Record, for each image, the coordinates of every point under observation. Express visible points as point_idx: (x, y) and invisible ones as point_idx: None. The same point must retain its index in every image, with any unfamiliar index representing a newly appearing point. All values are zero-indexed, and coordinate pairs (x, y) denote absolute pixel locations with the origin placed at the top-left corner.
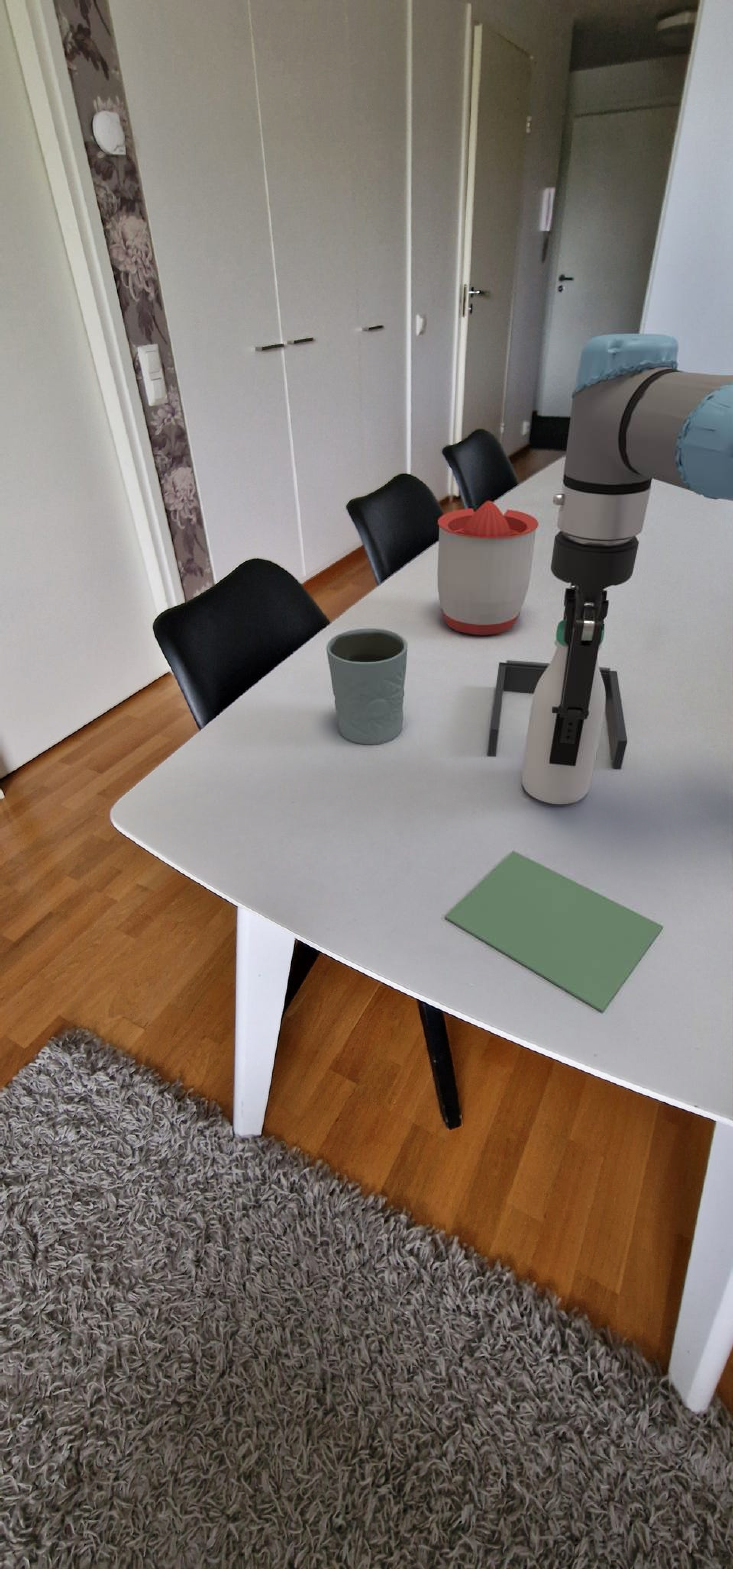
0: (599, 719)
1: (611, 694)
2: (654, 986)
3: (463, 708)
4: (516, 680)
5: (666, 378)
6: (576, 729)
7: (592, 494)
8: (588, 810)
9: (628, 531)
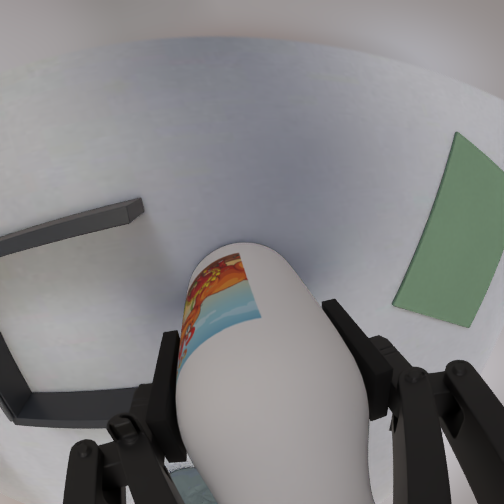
0: (310, 318)
1: None
2: (500, 147)
3: (99, 428)
4: (16, 390)
5: None
6: (401, 355)
7: None
8: (280, 231)
9: None
